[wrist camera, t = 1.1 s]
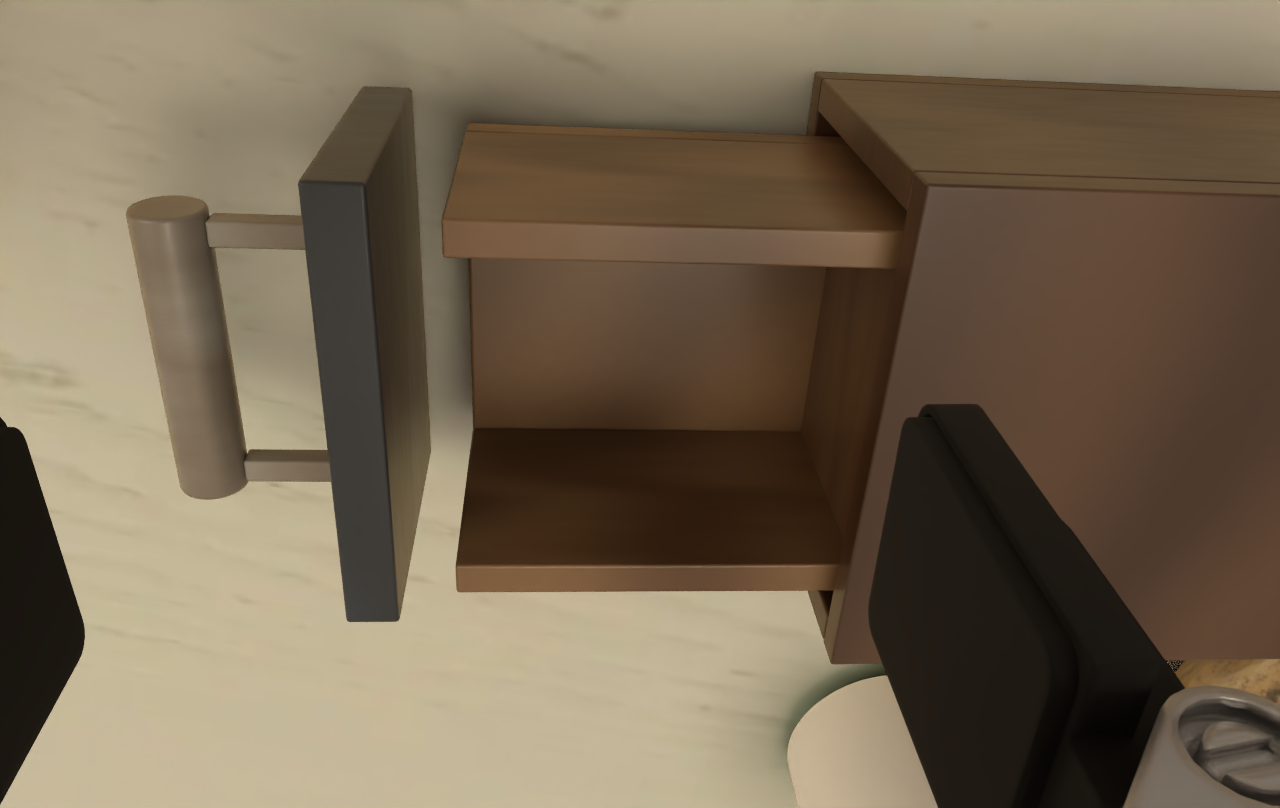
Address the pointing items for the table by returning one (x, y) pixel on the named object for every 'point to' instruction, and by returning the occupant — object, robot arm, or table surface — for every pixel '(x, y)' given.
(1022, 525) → the robot arm
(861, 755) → the can
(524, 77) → the table surface
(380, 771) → the table surface
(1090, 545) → the cabinet
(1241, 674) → the oil lamp
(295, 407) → the table surface
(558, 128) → the drawer
